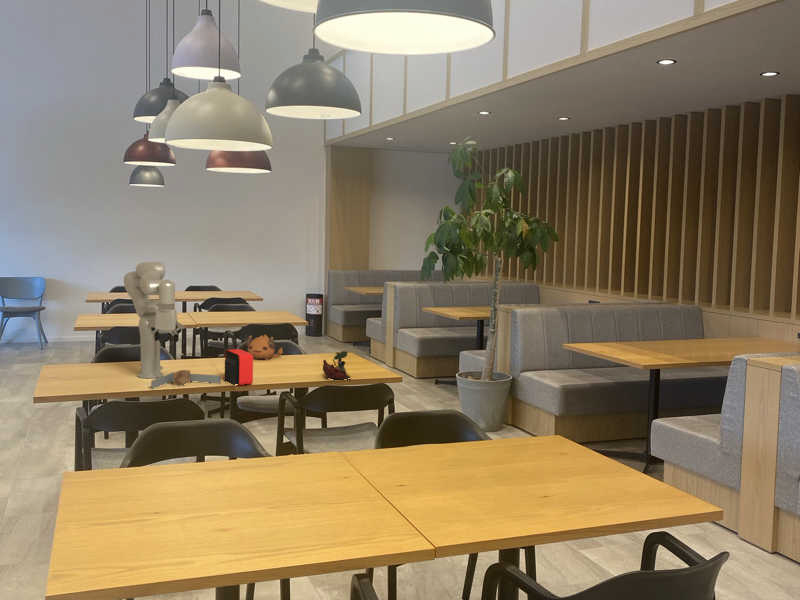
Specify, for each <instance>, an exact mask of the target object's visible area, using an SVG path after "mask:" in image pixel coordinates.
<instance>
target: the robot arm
mask: <svg viewBox="0 0 800 600" xmlns="http://www.w3.org/2000/svg"><path fill="white" fill-rule="evenodd" d="M165 267H166V266H165V265H164V264H163V263H162V262H160V261H159V262H158V261H145V262H140V263H138V264H137V265H136V267H135V270H134V271H129V272H127V273H126V274H125V275H124V276H123V284H124V289H125V291H126V293H127V294H128V296H129V297H130V298H131V300H132V303H133V306H134V308H135V311H136V314H137V315H138V317H139V320H138V331H139V336H140V337H139V338H140V373H137V377H138V378H140V379H157V378H156V377H158V378H159V377H162V376H164V373H163V372H162V371H161V370H163V368H164V367H163V366H162V365H161V343H160V334H168V333H171V332H173V333H174V335H173V343H177V342H179V335H180V333H181V332H182V331H183V330H184V328H185V325H184V324H182V323H181V322H179V321H178V313H177V310H176V307H175V306H176V283H174V281H171V280H170V279H164V277H165V275H166V268H165ZM150 296H158V299H153V300H152V299H150ZM178 328H179V329H178Z"/></svg>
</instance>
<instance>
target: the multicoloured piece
mask: <svg viewBox="0 0 800 600" xmlns="http://www.w3.org/2000/svg"><path fill="white" fill-rule="evenodd" d="M347 356H348V351H347V350H346V351H345V350H344V351H341V352H335V356H334V357H333V359H332V362H333V363H334V364H329V363H328V362H327V360H326V359H323V360H322V363H323V364H322V371H323V373H324V375H326V378H330V379H333V380H344V379H348V378H350V377H351V376H350V375H349V374H347V370H346V368H345V364H346V361H344V360H342V359H344V358H346V357H347ZM335 360H336V361H337V362H336V361H335ZM336 363H337V364H336Z"/></svg>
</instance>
